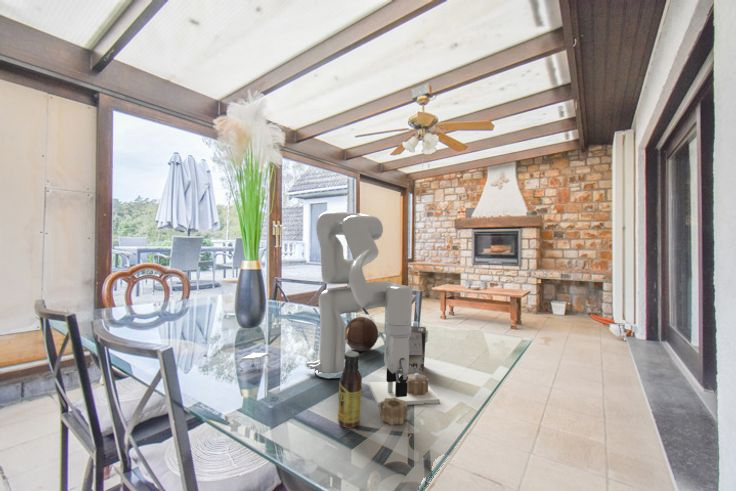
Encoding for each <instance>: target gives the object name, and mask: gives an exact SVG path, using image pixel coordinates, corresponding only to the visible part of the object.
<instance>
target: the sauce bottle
mask: <svg viewBox="0 0 736 491" xmlns="http://www.w3.org/2000/svg"><path fill="white" fill-rule="evenodd" d="M344 358H345V364H344V366H345V367H344V370H343V373H342V376H341V378H340V379H339V383H338V402H337V403H338V407H337V420H338V424H339V425H340V426H341V427H342V428H348V429H350V428H355V427H358V425H359V424H360V421H361V407H362V390H363V387H362V382H363V379H362V374H361V372H360V371H359V360H360V352H359V351H356V350H353V351H352V350H349V351H345V357H344Z"/></svg>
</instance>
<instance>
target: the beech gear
mask: <svg viewBox="0 0 736 491" xmlns="http://www.w3.org/2000/svg"><path fill="white" fill-rule="evenodd" d="M379 408H380V409H379V417H380V418H381V422H383V423H384V422H385V423H388V424H389V425H390V426H394V425H403V424H404V421H407V420H408V419H407V417H408V405H405V401H404V400H400V399H397V398H385V400H384V401H383V402H382V401H381V405H380V406H379Z"/></svg>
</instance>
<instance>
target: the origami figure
mask: <svg viewBox="0 0 736 491" xmlns="http://www.w3.org/2000/svg"><path fill="white" fill-rule="evenodd" d="M265 357H268V360H269V362H268V363H266V366H267V365H269V364H270V363H272V362H273V360H272V358H271V356H270V352H255V351H254V352H252V353H250V354H247V355H246V356H244V357H241V359H240V360H239V362H237V364H236V366H237V367H238V368H240V370H241V369H243V370H244V368H243V367H242V366H240V364H241V363H242V362H245V361H251V365H254V364H255V360H259V365H258V369H259V368H260V369H261V366H262V364H263V361H262V358H265Z"/></svg>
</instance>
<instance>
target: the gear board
mask: <svg viewBox="0 0 736 491" xmlns="http://www.w3.org/2000/svg"><path fill="white" fill-rule="evenodd" d="M395 385H396V382H387V381H372V382H370V381H369V382H368V386H369V390H370V391H371V394H372V396H373V398H374V401H375V403H376V405H377V407H380V405H381V401H382V402H383V401H384V400H385V398H397V399H400V400H404V401H405V405H407V406H408V405H410V406H411V405H425V404H424V403H429V404H439V403H440V397H438V395H437V394H436V393H435V392H434V391H433V389H432V388H431V387H430V385H429V378H427V376H426V375H424V374H423V375H420V374H418V373H415V374H412V373H408V383H407V396H406V397H396V396H395Z"/></svg>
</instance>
